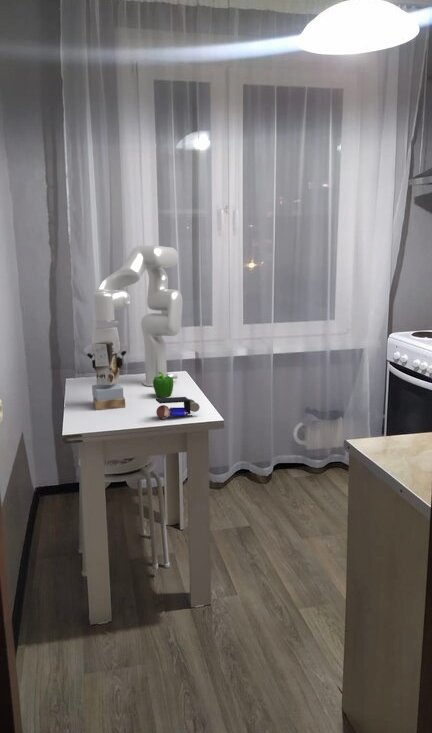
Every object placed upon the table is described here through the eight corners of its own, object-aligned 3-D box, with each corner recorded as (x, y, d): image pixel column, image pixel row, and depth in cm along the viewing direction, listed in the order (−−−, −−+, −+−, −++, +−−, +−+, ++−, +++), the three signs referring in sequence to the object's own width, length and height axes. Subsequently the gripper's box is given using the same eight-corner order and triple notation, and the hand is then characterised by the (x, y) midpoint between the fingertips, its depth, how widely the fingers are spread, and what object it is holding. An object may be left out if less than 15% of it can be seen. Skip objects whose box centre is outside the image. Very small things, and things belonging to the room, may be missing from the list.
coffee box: (111, 385, 221) (109, 343, 217) (95, 384, 222) (93, 343, 219) (120, 379, 230) (118, 339, 226) (105, 379, 231) (102, 339, 227)
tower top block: (117, 392, 233) (116, 382, 232) (123, 398, 224) (123, 388, 223) (92, 394, 229) (91, 385, 228) (97, 401, 220) (97, 391, 219)
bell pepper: (175, 397, 237) (175, 373, 235) (156, 399, 234) (155, 375, 232) (171, 392, 245) (170, 369, 243) (152, 394, 242) (151, 371, 240)
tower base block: (121, 401, 234) (120, 392, 233) (125, 408, 224) (124, 398, 223) (93, 404, 231) (92, 394, 230) (96, 411, 220) (95, 401, 220)
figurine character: (192, 415, 217) (153, 416, 211) (194, 395, 216) (155, 395, 210) (198, 420, 211) (158, 421, 205) (200, 400, 210) (160, 400, 204)
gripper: (126, 322, 227) (128, 365, 231) (81, 324, 222) (84, 368, 226) (129, 324, 220) (131, 369, 224) (82, 327, 215) (85, 372, 219)
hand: (107, 368), depth 225 cm, fingers closed on coffee box, 8 cm apart
